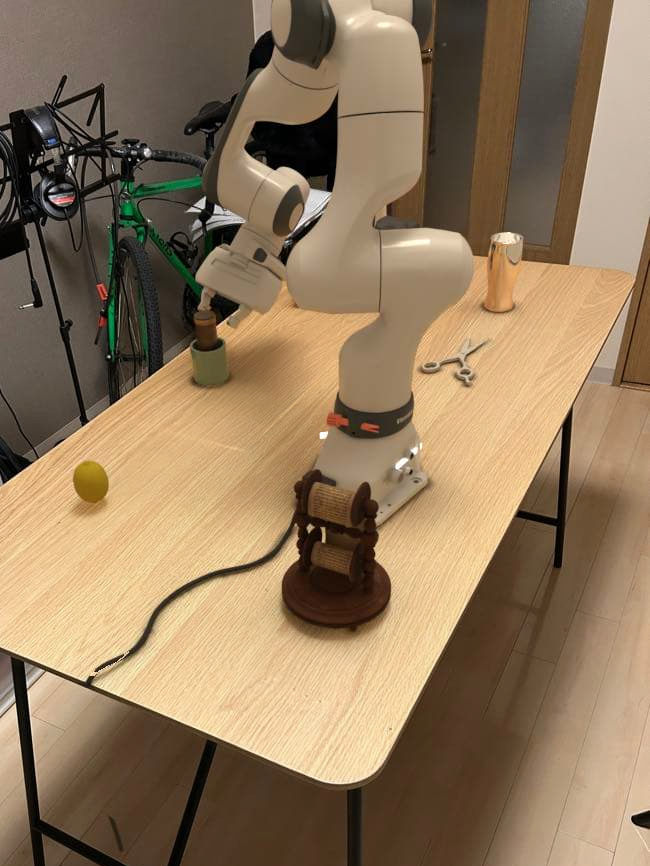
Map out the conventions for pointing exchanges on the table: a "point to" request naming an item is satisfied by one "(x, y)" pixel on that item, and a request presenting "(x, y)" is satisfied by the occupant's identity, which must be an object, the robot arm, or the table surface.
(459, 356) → the scissors
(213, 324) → the rod
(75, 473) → the lemon
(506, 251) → the beer glass
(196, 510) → the table surface
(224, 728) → the table surface
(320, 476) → the wooden twine spool holder
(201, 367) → the tumbler
